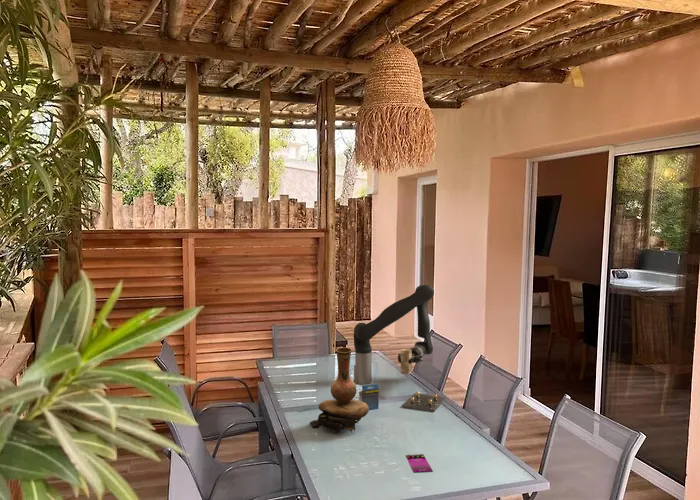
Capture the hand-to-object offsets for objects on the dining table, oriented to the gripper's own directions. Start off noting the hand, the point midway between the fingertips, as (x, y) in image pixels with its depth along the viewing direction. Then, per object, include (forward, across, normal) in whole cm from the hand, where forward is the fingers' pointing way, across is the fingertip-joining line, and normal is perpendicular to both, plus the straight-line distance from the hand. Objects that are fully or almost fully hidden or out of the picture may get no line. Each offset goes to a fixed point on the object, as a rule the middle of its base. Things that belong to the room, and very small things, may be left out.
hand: (404, 361), depth 284 cm
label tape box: (+26, -9, +18) cm, 33 cm away
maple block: (-3, 0, +7) cm, 7 cm away
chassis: (+8, +13, +18) cm, 23 cm away
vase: (+53, -12, +18) cm, 57 cm away
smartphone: (+75, +31, +18) cm, 83 cm away
